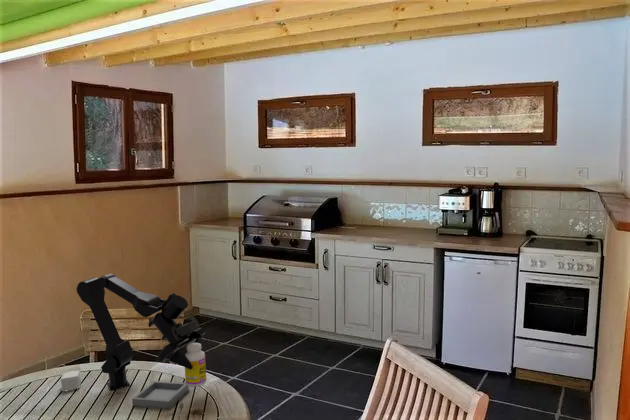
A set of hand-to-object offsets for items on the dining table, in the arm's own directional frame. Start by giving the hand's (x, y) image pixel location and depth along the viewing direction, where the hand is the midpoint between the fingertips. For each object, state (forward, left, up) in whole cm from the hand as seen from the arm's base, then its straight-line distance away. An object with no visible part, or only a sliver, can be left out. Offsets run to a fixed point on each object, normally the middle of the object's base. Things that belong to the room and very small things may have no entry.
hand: (198, 364), depth 170 cm
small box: (-36, -35, -12) cm, 52 cm away
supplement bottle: (-1, -1, -7) cm, 7 cm away
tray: (-8, -11, -11) cm, 18 cm away
